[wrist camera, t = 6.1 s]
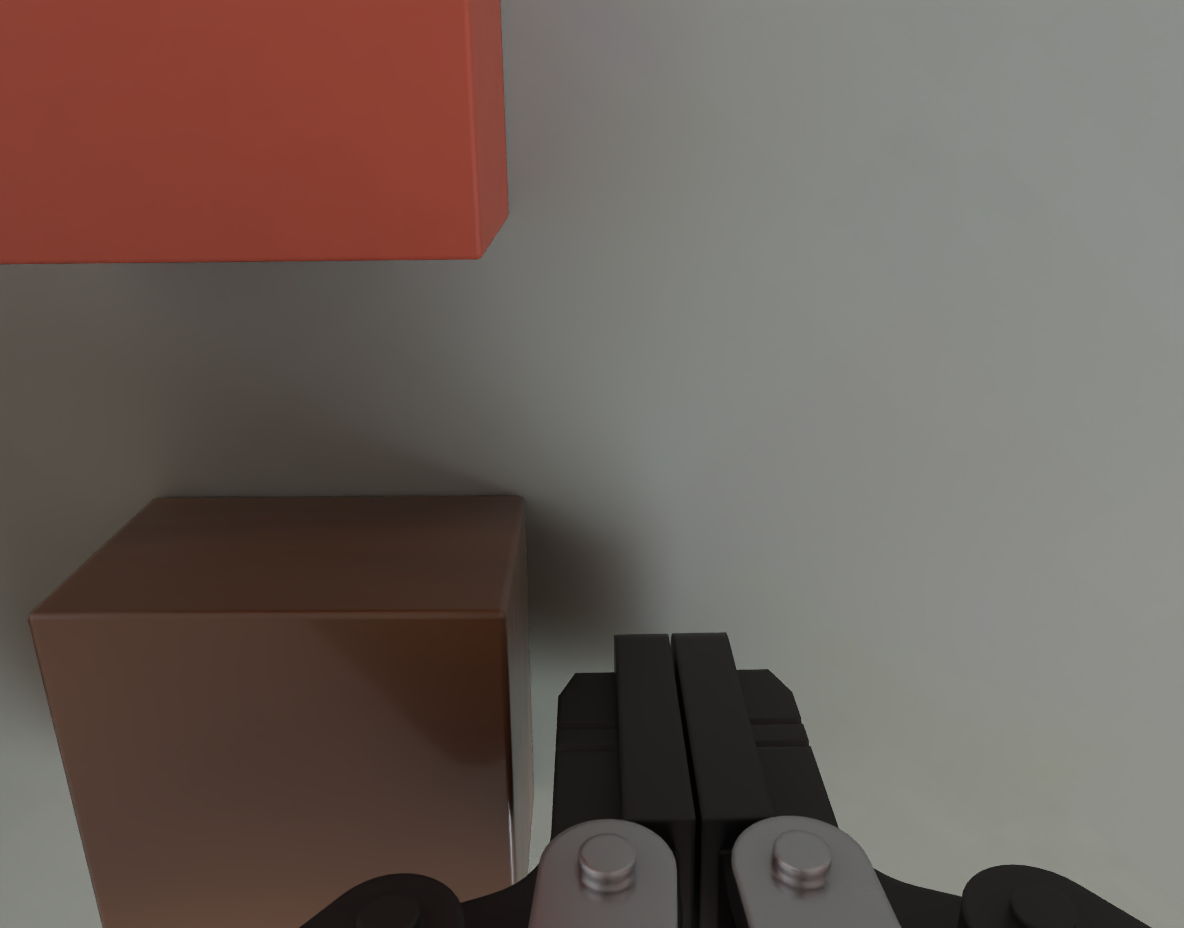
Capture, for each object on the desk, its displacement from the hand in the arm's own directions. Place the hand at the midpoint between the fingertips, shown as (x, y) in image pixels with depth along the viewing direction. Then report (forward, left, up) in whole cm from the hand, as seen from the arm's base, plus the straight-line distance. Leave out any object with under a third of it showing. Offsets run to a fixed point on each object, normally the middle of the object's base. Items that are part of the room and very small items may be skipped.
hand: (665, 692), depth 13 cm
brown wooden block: (0, -4, -1) cm, 5 cm away
